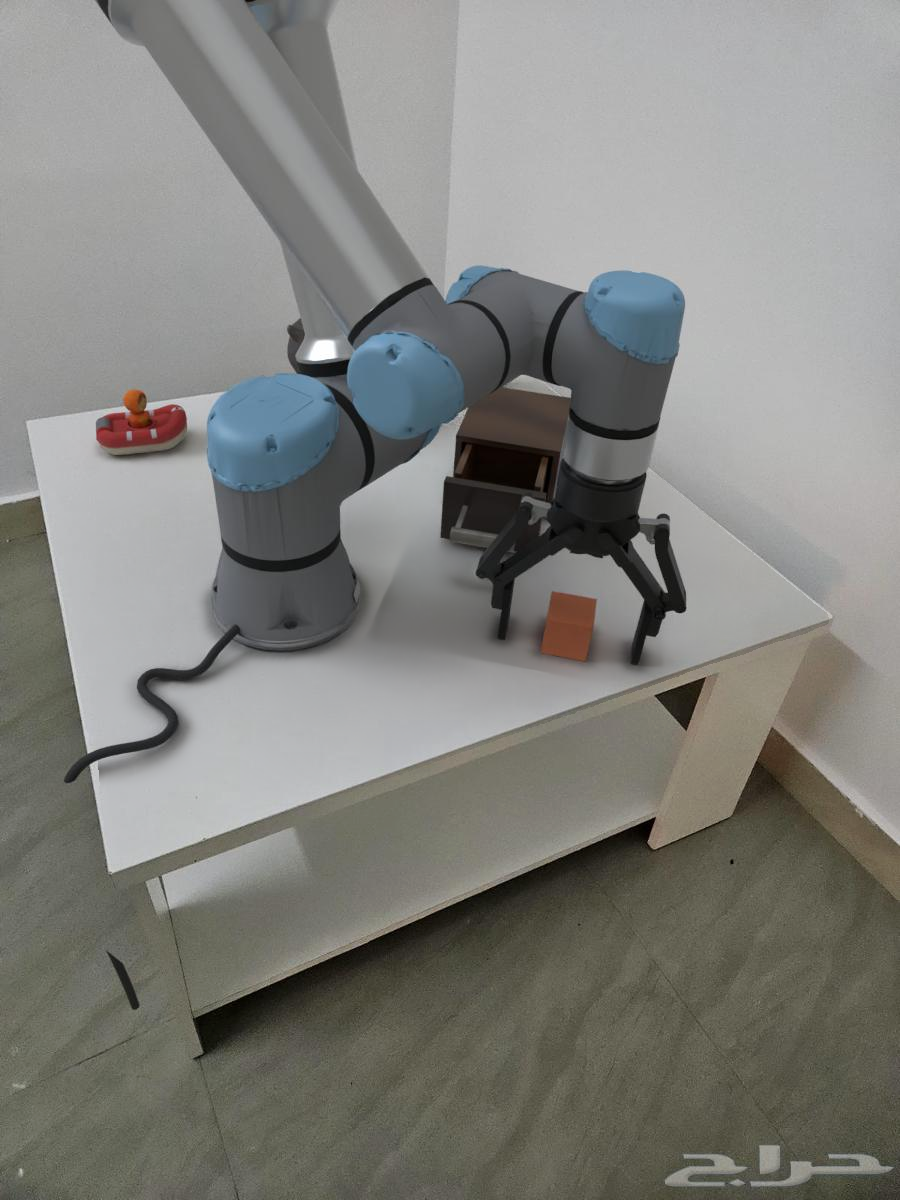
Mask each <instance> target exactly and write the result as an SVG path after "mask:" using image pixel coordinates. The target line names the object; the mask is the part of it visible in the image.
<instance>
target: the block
mask: <svg viewBox="0 0 900 1200" xmlns="http://www.w3.org/2000/svg"><path fill="white" fill-rule="evenodd" d="M597 601H598V600H597V598H595V597H587V596H583V595H576V594H571V593H565V592H561V591H555V590H552V591H551V594H550V599H549V605H548V610H547V615H546V621H545V626H544V631H543V635H542V636H543V637H542V642H541V647H540V653H541V654H545V655H550V656H556V657H560V658H565V659H571V660H575V661H582V662H586V661H587V656H588V652H589V647H590V645H591V644H590V643H591V639H592V635H593V631H594V625H595V617H596V610H597V609H596V608H597Z"/></svg>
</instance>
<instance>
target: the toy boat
mask: <svg viewBox="0 0 900 1200" xmlns="http://www.w3.org/2000/svg"><path fill="white" fill-rule="evenodd" d="M122 399H123V400H122V401H123V405H124V408H125V409H126V410H128V411H125V412H113V413H108V414H106V415H104V416H101V417H98V418H97V419H96V421H95V439H96V441H97V443H98V444H99V445H100V447H101V449H102V450H103V451H105V452H106V453H107V454H110V455H113V456H114V455H115V456H123V455H134V454H143V453H155V452H163V451H168V450H170V449H172V448H175V447H176V446H177V445H178V444H180V443H181V442H182V441H183V439H184V438H185V436H186V435H187V431H188V418H187V413H186V410H185V409H184V408H183V407H182V406H181V405H179V404H176V403H175V404H167V405H164V406H161V407H158V408H154V409H147V410H146V408H147V405H148V400H147V399H148V398H147V396H146V394H145V392H143V391H142V390H140V389H137V388H135V389H134V388H133V389H129V390H128V391H127V392H125V394H124V396H123V398H122Z"/></svg>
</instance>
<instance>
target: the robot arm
mask: <svg viewBox="0 0 900 1200" xmlns="http://www.w3.org/2000/svg"><path fill="white" fill-rule="evenodd" d="M339 1H340V0H94V2H96V4H97V5H98V7H99V8H100V10H101V11H102V13H103V14H104V15H105V17H106V19H107V20H108V22H110V24H111V25H112V27H113V28H114V30H115V31H116V33H117V35H119V37H121V38H122V40H124V41H126V42H127V43H129V44H132V45H135V46H138V47H139V46H140V47H144V48H145V49H146V51H147V52H148V54H149V55H150V57H151V59H152V60H153V61H154V62H155V63H156V65H157V67H158V68H159V69H160V71H161V72H162V74H163V76H164V77H165V78H166V79H167V81H168V82H169V84H170V85H171V87H172V88H173V90H174V91H175V92H176V94H177V95H178V97H179V98H180V100H181V101H182V102H183V104H184V105H185V107H186V108H187V110H188V111H189V113H190V114H191V116H192V117H193V119H194V120H195V122H196V123H197V124H198V126H199V127H200V129H201V130H202V131H203V133H204V134H205V136H206V137H207V139H208V140H209V142H210V143H211V144H212V146H213V147H214V149H215V150H216V152H217V153H218V155H219V156H220V157H221V159H222V160H223V162H224V163H225V164H226V167H227V168H228V169H229V170H230V172H231V174H232V175H233V176H234V178H235V179H236V180H237V182H238V183H239V185H240V186H241V188H242V189H243V190H244V192H245V193H246V195H247V196H248V198H249V199H250V200H251V202H252V203H253V205H254V206H255V208H256V209H257V211H258V212H259V214H260V215H261V216H262V218H263V220H264V221H265V222H266V224H267V225H268V226H269V228H270V229H271V231H272V232H273V234H274V235H275V237H276V239H278V241H279V243H280V247H281V250H282V255H283V258H284V261H285V266H286V270H287V273H288V276H289V280H290V284H291V287H292V291H293V295H294V298H295V303H296V306H297V309H298V313H299V318H301V321H302V324H303V328H304V332H305V337H304V340H303V342H302V344H301V346H300V347H299V349H298V351H297V353H296V355H295V357H296V361H297V364H298V368H299V372H300V374H296V372H295V373H294V372H293V373H291V372H277V373H274V375H273V376H270V377H267V376H265V375H258V376H254V377H251V378H249V379H246V380H243V381H241V382H239V383H237V384H234V385H233V386H232V387H230V388H228V389H227V390H226V391H225V392H224V393H222V394H221V395H220V396H219V398H217V399H216V400H215V402H214V403H213V405H212V407H211V409H210V411H209V413H208V416H207V420H206V437H207V446H206V458H207V465H208V467H209V469H210V473H211V479H212V484H213V491H214V498H215V504H216V511H217V519H218V526H219V532H220V533H219V534H220V540H221V551H220V555H219V559H218V563H217V567H216V572H215V577H214V579H213V582H212V587H211V607H212V611H213V617H214V619H215V621H216V624H217V625H218V626H219V628H220V629H221V630H222V631H223V632H224V635H223V636H222V637H220V639H219V640H218V641H216V643H215V644H214V645H213V646H212V647H211V649H210V650H209V651H208V653H207V654H206V656H205V657H204V658H203V659H202V661H201V662H200V663H199V664H198V665H197V666H195V667H193V668H190V669H172V668H166V667H165V668H163V667H155V668H150V669H148V670H146V671H144V672H143V673H142V674H141V675H140V676H139V678H138V679H137V681H136V682H137V683H136V690H137V693H138V694H139V695H140V696H141V698H143V700H144V701H146V702H147V703H149V704H150V705H151V706H152V707H154V708H155V709H157V710H158V711H160V712H161V713H162V714H163V715H164V716H165V718H166V719H167V725H166V727H165V728H164V729H163V730H162V731H161V732H159V733H158V734H156V735H154V736H151V737H149V738H146V739H141V740H137V741H129V742H123V743H118V744H112V745H108V746H104V747H100V748H98V749H96V750H93V751H91V752H89V753H86V754H85V755H83V756H82V757H81V758H79V759H78V760H77V761H76V762H74V764H73V765H72V766H71V767H70V768H69V770H68V771H67V772H66V774H65V776H64V778H63V783H65V784H71V783H73V782H75V781H77V779H78V777H79V776H80V774H81V773H82V772H83V771H84V770H86V768H88V767H89V766H90V765H93V763H95V762H97V761H100V760H102V759H106V758H110V757H114V756H119V755H124V754H129V753H136V752H141V751H146V750H149V749H153V748H157V747H158V746H160V745H162V744H165V743H166V742H167V741H168V740H170V739H171V738H172V737H173V736H174V734H175V733H176V731H177V729H178V727H179V723H180V722H179V715H178V714H177V712H176V710H175V709H173V707H172V706H171V705H170V704H169V703H167V702H166V701H165V700H163V699H162V698H160V697H159V696H158V695H157V694H154V692H152V691H151V690H150V689H149V688H148V683H149V682H150V681H151V680H153V679H155V678H156V679H157V678H161V679H162V678H163V679H164V678H165V679H169V680H170V679H172V680H190V679H194V678H197V677H199V676H202V674H204V673H206V672H207V671H208V670H209V669H210V668H211V667H212V665H213V664H214V662H215V661H216V659H217V658H218V656H219V655H220V654H221V652H222V651H223V650H224V649H225V648H226V647H227V646H228V645H229V644H230V643H231V642H232V641H233V640H235V641H236V642H238V643H241V644H243V645H246V646H248V647H252V648H255V649H260V650H264V651H265V650H267V651H275V652H277V651H278V652H279V651H283V652H285V651H294V650H302V649H307V648H311V647H314V646H317V645H320V644H323V643H325V642H327V641H329V640H331V639H333V638H335V637H337V636H338V635H339V634H341V633H342V632H344V631H345V630H346V629H347V628H348V627H349V626H350V625H351V623H353V621H354V619H355V618H356V616H357V614H358V612H359V609H360V604H361V603H360V602H361V596H360V595H361V589H362V586H361V583H360V582H359V578H358V576H357V573H356V570H355V569H354V567H353V565H352V564H351V561H350V558H349V555H348V552H347V550H346V547H345V545H344V544H343V540H342V538H341V537H342V535H341V505H342V503H343V502H344V501H345V500H346V499H348V498H349V497H351V496H352V495H354V494H356V493H357V492H359V491H360V490H363V489H364V488H365V487H367V486H368V485H371V484H372V483H374V482H375V481H377V480H379V479H380V478H382V477H383V476H385V475H386V474H388V473H389V472H391V471H392V470H394V469H395V468H397V467H399V466H401V465H404V464H407V463H408V462H410V461H412V460H413V459H414V458H415V457H417V455H418V454H420V452H421V451H422V450H423V449H425V448H426V447H427V446H428V445H429V444H431V443H432V441H434V439H435V438H436V436H437V435H438V433H439V431H440V429H441V427H442V425H443V424H449V423H450V422H452V421H453V420H454V419H455V418H457V417H458V415H459V414H460V413H462V412H463V411H465V410H467V409H468V407H469V406H471V405H473V404H474V403H476V402H477V401H479V400H480V399H482V398H484V397H485V396H487V395H489V394H491V393H493V392H494V391H496V390H498V389H499V388H501V387H503V388H504V386H506V385H507V384H509V383H510V382H512V381H514V380H515V379H517V378H519V377H520V376H527V377H530V378H533V379H536V380H540V381H542V382H545V383H549V384H551V385H555V386H557V387H564V388H567V389H568V390H570V398H571V401H570V408H569V413H568V419H567V425H566V432H565V438H564V444H563V451H562V455H563V459H562V460H561V463H560V470H559V476H558V482H557V487H556V492H555V496H554V500H553V501H552V502H551V503H546V502H543V501H539V500H535V496H534V494H533V493H531V492H525V493H524V494H523V495H522V498H521V502H520V506H519V509H518V511H517V512H516V514H515V515H514V516H513V517H512V519H511V520H510V521H509V522H508V524H507V525H506V526H505V527H504V529H503V530H502V531H501V532H500V534H499V535H498V536H497V537H496V539H495V540H494V541H493V542H492V544H491V545H490V546H489V547H488V548H486V550H485V551H484V552H483V554H482V555H481V556H480V557H479V561H478V564H477V567H476V570H475V576H476V577H477V578H478V579H481V580H485V579H486V580H489V581H490V582H491V584H492V590H491V598H490V599H491V600H490V606H491V608H492V609H495V610H500V617H499V623H498V624H499V625H498V632H497V639H499V640H504V641H505V640H506V636H507V632H508V628H509V624H510V619H511V618H510V617H511V610H512V603H513V594H514V588H515V586H514V585H515V580H516V579H517V578H518V577H519V576H521V575H522V574H524V573H525V572H527V571H528V570H530V569H532V568H533V567H534V566H536V565H537V564H539V563H540V562H542V561H544V560H545V559H546V558H548V557H549V556H551V557H553V556H555V555H556V554H557V553H559V552H561V551H563V550H564V549H566V550H568V551H569V554H573V555H588V556H591V557H593V558H596V559H597V558H598V559H604V557H607V556H610V557H611V559H612V560H613V561H614V563H615V564H616V566H617V567H618V568H621V569H622V571H623V572H624V573H625V575H626V577H627V578H628V579H629V580H630V582H631V583H632V585H633V586H634V588H635V589H636V590H637V592H638V593H639V594H640V596H641V598H643V602H642V606H641V610H640V614H639V618H638V622H637V625H636V627H635V629H636V630H635V633H634V637H633V639H632V644H631V654H630V655H631V656H630V664H634V665H639V663H640V660H641V656H642V653H643V650H644V645H645V642H646V638H647V637H652V638H656V637H657V636H658V635H659V633H660V629H661V625H662V624H663V623H662V622H663V620H664V619H666V617H667V616H666V615H667V613H669V612H675V613H676V614H684V613H685V612H686V611H687V591H686V590H687V589H686V587H685V584H684V581H683V577H682V575H681V571H680V568H679V565H678V562H677V558H676V556H675V552H674V549H673V546H672V542H671V539H670V536H671V518H670V515H668V514H667V513H660V514H658V515H657V516H656V518H650V517H649V518H648V517H647V518H646V517H640V514H639V510H640V506H641V502H642V497H643V493H644V489H645V485H646V480H647V477H648V475H647V471H648V469H649V468H650V466H651V465H650V464H651V461H652V456H653V453H654V448H655V444H656V439H657V436H658V431H659V426H660V421H661V416H662V412H663V409H664V404H665V400H666V397H667V392H668V388H669V384H670V382H671V377H672V374H673V370H674V366H675V362H676V359H677V357H678V355H679V351H680V339H681V333H682V327H683V322H684V316H685V310H686V299H685V295H684V292H683V291H682V289H681V288H680V287H679V286H678V285H677V284H675V282H673V281H672V280H670V279H668V278H665V277H663V276H660V275H657V274H653V273H650V272H644V271H642V272H636V271H635V272H634V271H632V270H625V269H624V270H623V269H622V270H610V271H606V272H603V273H600V274H599V275H597V276H595V278H593V279H592V281H591V282H590V283H589V287H588V290H587V291H585V292H584V291H581V290H577V289H575V288H570V287H566V286H563V285H559V284H556V283H553V282H549V281H545V280H543V279H542V280H541V279H538V278H535V277H533V276H528V275H526V274H522V273H520V272H519V271H517V270H512V269H511V268H507V267H506V268H504V267H500V268H498V267H493V266H488V265H480V264H479V265H472V266H470V267H468V268H466V269H464V270H462V272H461V273H460V274H459V276H458V278H457V281H455V282H453V283H452V284H451V286H450V288H449V289H448V292H447V293H446V296H445V298H444V297H443V295H442V294H441V292H440V291H439V289H438V287H437V286H435V284H434V283H433V281H432V280H431V278H430V276H429V275H428V273H427V272H426V271H425V269H424V268H423V266H422V264H420V263H421V262H419V260H418V258H417V257H416V256H415V254H414V253H413V251H412V250H411V248H410V246H409V245H408V244H407V242H406V241H405V239H404V238H403V236H402V235H401V233H400V231H399V230H398V229H397V227H396V226H395V224H394V223H393V221H392V219H391V218H390V217H389V215H388V213H387V212H386V211H385V209H384V208H383V206H382V204H381V203H380V201H379V200H378V199H377V197H376V195H375V194H374V192H373V190H371V188H370V187H369V185H368V184H367V182H366V181H365V179H364V177H363V176H362V175H361V173H360V171H359V168H358V164H357V159H356V155H355V151H354V150H355V149H354V146H353V141H352V137H351V132H350V127H349V123H348V122H349V121H348V118H347V114H346V110H345V109H346V108H345V104H344V99H343V94H342V91H341V87H340V82H339V76H338V72H337V68H336V63H335V59H334V53H333V50H332V46H331V45H332V44H331V40H330V36H329V32H328V27H329V23H330V20H331V18H332V16H333V14H334V12H335V10H336V8H337V6H338V3H339ZM541 517H547V519H546V521H547V523H548V525H549V526H548V527H547V528H546V529H545V531H544V532H543V533H541V534H540V536H539V537H537V538H536V539H534V540H533V541H531V542H530V543H529V544H527V545H526V546H524V547H523V548H521V549H520V550H519V551H517V552H516V551H515V552H513V554H511V555H510V556H508V557H507V558H505V559H504V557H505V556H506V555H507V554H508V551H509V550H510V549H511V547H512V546H513V545H514V544H515V543H516V541H517V540H518V539H519V538H520V537H521V535H522V534H523V533H524V531H525V530H526V528H527V525H528V524H530V525H532V524H534V523H536V522H537V521H538V519H539V518H541ZM639 533H640V534H643V535H644V536H645V540H646V541H647V542H648V543H649V544H650V545H652V546H653V545H654V554H655V558H656V561H657V564H658V567H659V570H660V573H661V576H662V579H663V582H664V585H665V588H666V591H667V592H666V591H665V590H664V589H663V587H662V586H661V584H660V583H659V582H658V580H657V579H656V577H655V576H654V574H653V573H652V571H651V570H650V569H649V567H648V566H647V564H646V563H645V561H644V560H643V558H642V557H641V556H640V553H638V551H637V550H636V548H635V547H634V543H633V541H632V540H633V539H635V537H637V535H639ZM503 559H504V560H503ZM105 951H106V954H107V956H108V958H109V960H110V962H111V965H112V966H113V969H114V970H115V972H116V975H117V976H118V979H119V981H120V983H121V985H122V987H123V990H124V992H125V995H126V997H127V1000H128V1002H129V1005H130V1008H131V1010H133V1011H136V1010H138V1009H139V1008H140V1002H139V999H138V997H137V993H136V991H135V988H134V985H133V983H132V981H131V978H130V976H129V973H128V972H127V969H126V967H125V965H124V963H123V962H122V961H121V960H119V959H118V958H117V957H116V956H115V955H114V954H112V953H111V952H109V951H108V950H107V949H105Z"/></svg>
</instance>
